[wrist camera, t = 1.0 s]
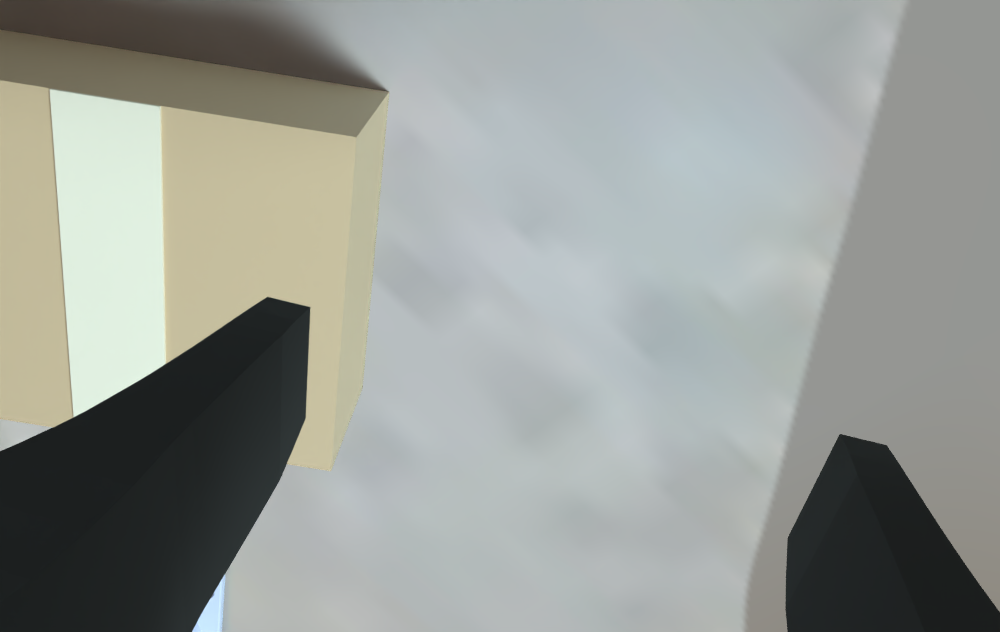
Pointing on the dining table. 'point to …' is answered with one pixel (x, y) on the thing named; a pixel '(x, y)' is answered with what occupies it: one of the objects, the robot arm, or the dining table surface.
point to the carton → (177, 222)
